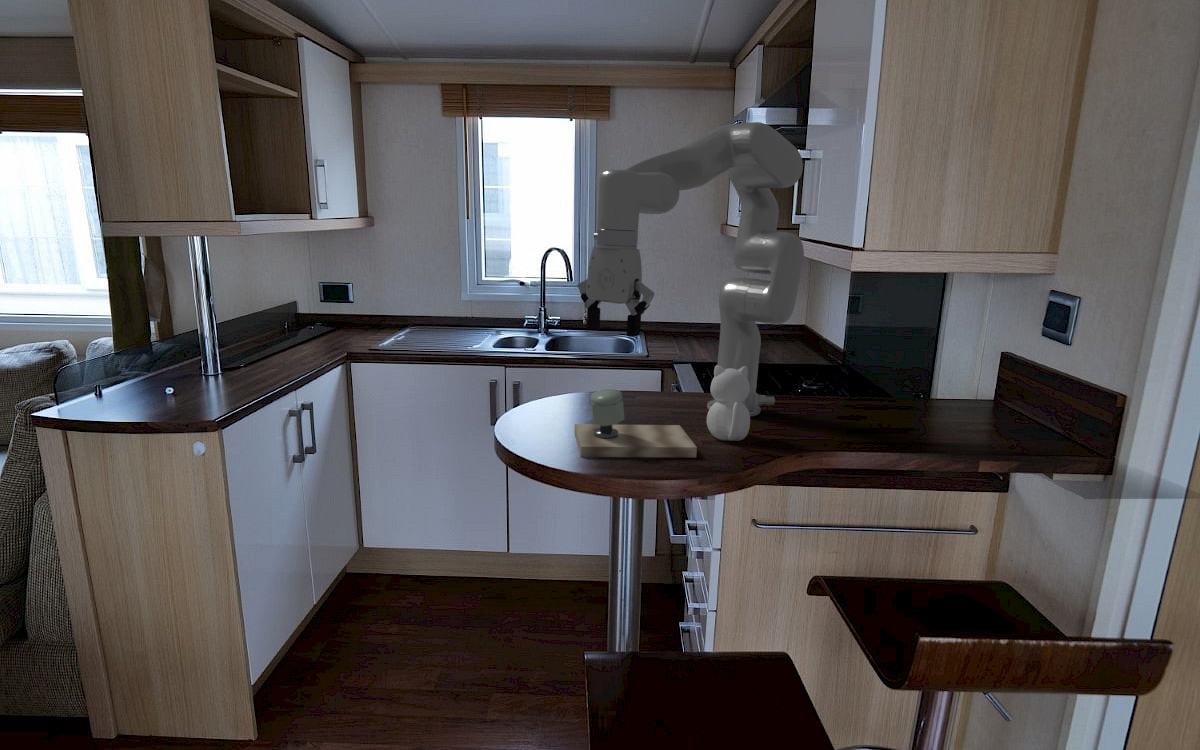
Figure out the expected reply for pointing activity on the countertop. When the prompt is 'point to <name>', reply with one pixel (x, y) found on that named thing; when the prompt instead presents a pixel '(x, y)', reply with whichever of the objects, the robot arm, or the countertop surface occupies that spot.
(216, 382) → the countertop surface
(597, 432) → the pin
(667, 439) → the board
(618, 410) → the cap
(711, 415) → the cat figurine
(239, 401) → the countertop surface
